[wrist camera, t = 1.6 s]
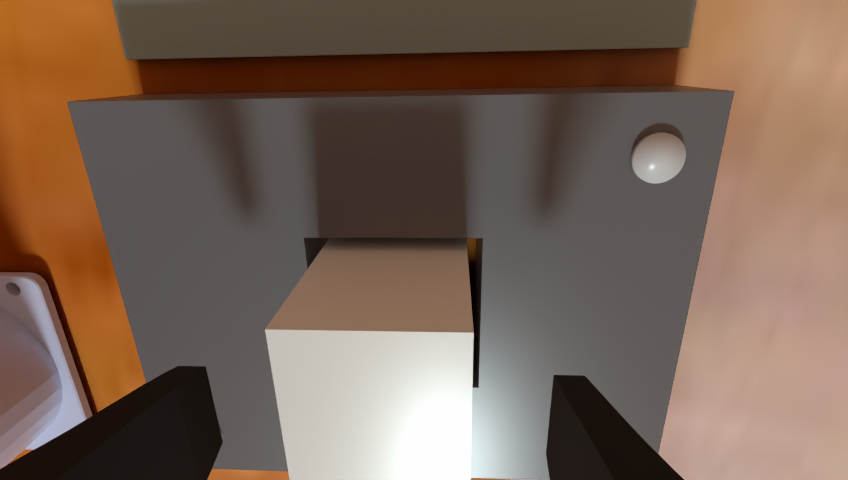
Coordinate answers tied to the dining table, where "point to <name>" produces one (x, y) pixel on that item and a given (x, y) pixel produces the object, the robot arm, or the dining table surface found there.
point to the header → (415, 235)
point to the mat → (394, 26)
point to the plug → (377, 362)
